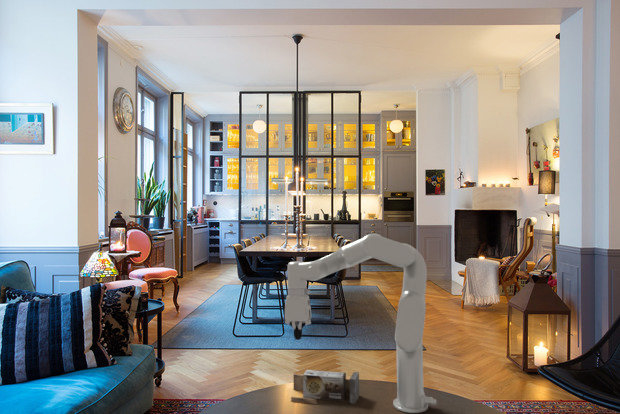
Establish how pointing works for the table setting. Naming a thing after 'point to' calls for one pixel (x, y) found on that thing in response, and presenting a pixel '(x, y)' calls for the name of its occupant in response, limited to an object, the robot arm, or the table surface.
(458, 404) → the table surface
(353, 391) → the book slot
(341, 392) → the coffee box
